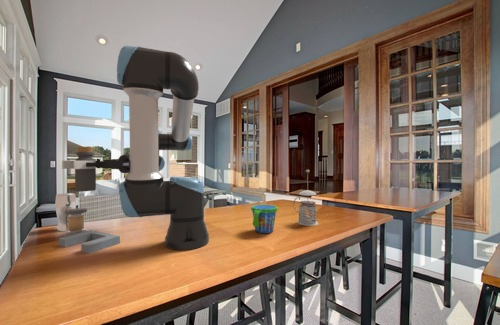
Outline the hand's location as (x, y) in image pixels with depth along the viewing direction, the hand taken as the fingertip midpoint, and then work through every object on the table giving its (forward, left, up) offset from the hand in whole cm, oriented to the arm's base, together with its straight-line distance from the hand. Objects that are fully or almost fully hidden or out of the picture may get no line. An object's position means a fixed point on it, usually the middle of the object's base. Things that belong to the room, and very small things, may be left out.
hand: (68, 164), depth 76 cm
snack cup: (-50, -46, -28) cm, 74 cm away
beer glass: (+28, -13, -28) cm, 42 cm away
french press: (-63, -66, -28) cm, 96 cm away
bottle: (0, -5, -9) cm, 11 cm away
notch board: (0, -6, -28) cm, 29 cm away
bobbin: (+15, -10, -28) cm, 33 cm away
